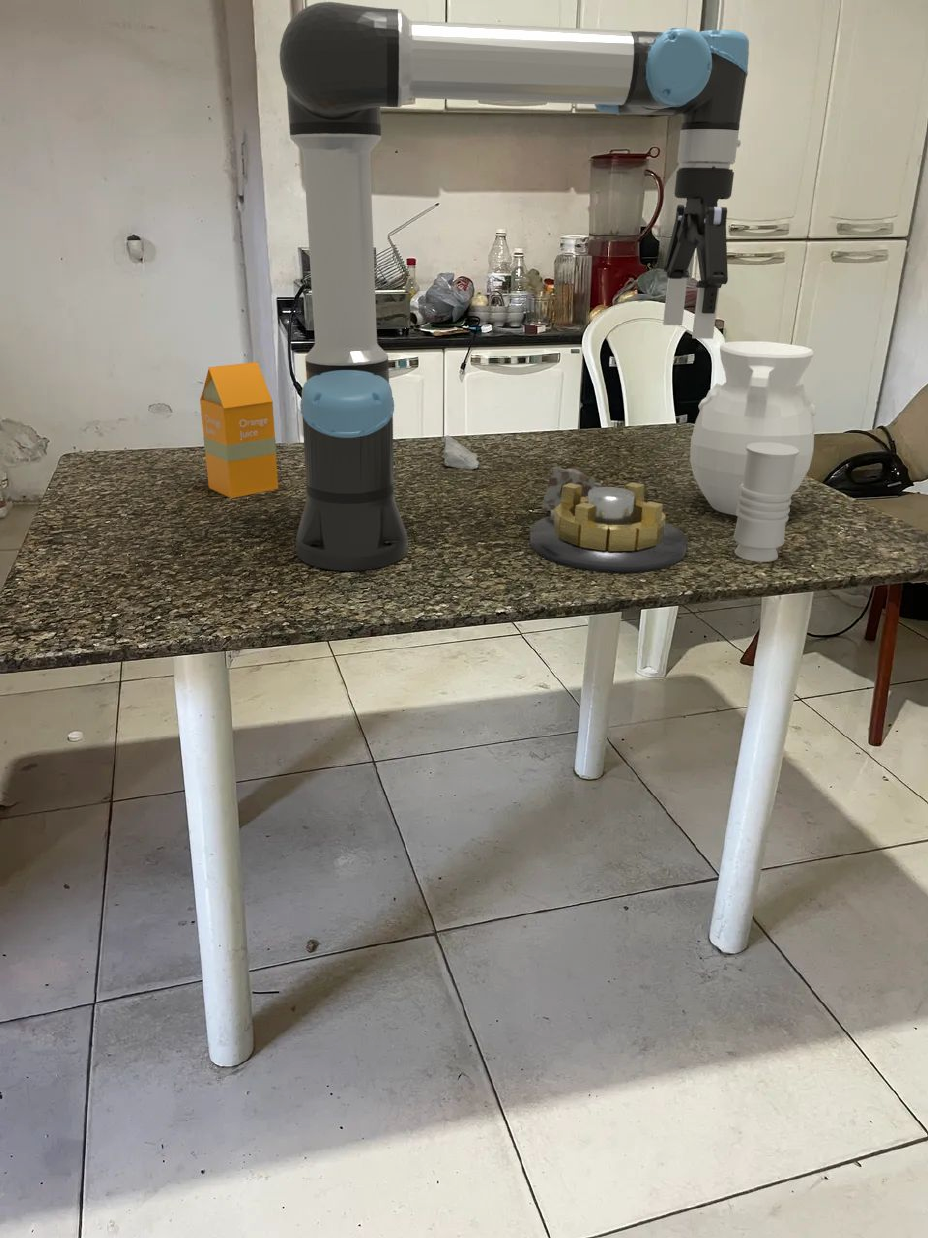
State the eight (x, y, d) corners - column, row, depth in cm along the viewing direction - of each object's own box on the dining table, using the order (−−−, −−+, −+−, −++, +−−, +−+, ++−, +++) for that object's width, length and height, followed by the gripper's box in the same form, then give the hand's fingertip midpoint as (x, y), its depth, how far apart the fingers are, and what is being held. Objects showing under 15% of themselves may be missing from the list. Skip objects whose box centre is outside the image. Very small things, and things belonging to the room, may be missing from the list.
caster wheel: (614, 518, 153) (612, 529, 144) (547, 499, 155) (540, 508, 145) (626, 479, 151) (625, 487, 142) (558, 459, 153) (553, 466, 143)
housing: (544, 574, 124) (547, 520, 121) (518, 520, 144) (520, 472, 141) (707, 571, 126) (715, 517, 123) (660, 518, 146) (665, 470, 143)
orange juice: (207, 487, 156) (195, 363, 148) (255, 478, 162) (245, 358, 154) (231, 498, 151) (220, 371, 143) (279, 488, 157) (271, 365, 148)
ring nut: (566, 551, 126) (569, 512, 124) (546, 516, 140) (548, 480, 138) (675, 549, 128) (680, 510, 126) (645, 514, 142) (648, 479, 139)
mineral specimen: (474, 458, 180) (475, 435, 179) (479, 471, 169) (481, 447, 168) (440, 456, 180) (441, 434, 178) (443, 469, 168) (444, 445, 167)
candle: (733, 542, 136) (748, 439, 130) (783, 549, 134) (801, 445, 128) (727, 558, 130) (742, 451, 124) (779, 565, 128) (797, 457, 122)
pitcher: (801, 532, 141) (831, 360, 131) (676, 517, 146) (695, 351, 136) (803, 497, 157) (830, 342, 147) (690, 485, 163) (708, 334, 152)
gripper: (769, 165, 116) (744, 344, 125) (702, 168, 138) (685, 319, 147) (710, 164, 115) (689, 344, 124) (652, 167, 138) (637, 319, 146)
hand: (686, 331), depth 136 cm, fingers open, 13 cm apart
